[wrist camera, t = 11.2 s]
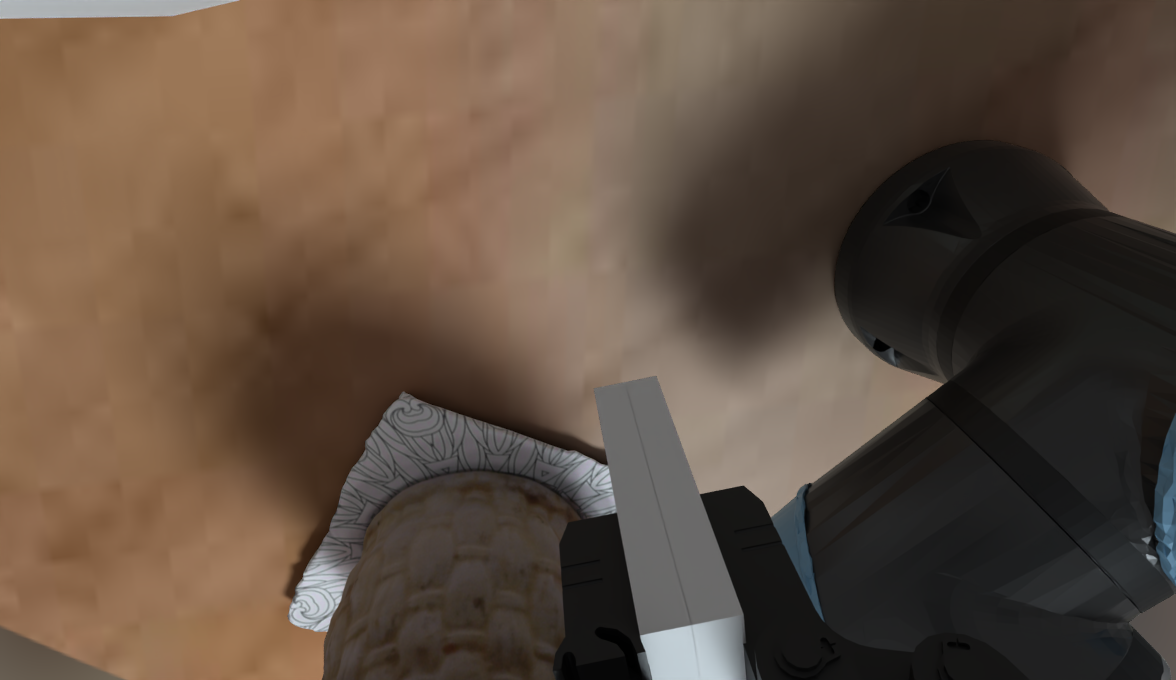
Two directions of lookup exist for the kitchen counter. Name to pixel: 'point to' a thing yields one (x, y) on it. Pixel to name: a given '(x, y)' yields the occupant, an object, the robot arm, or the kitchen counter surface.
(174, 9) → the milk
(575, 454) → the cookie jar
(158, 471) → the kitchen counter surface
